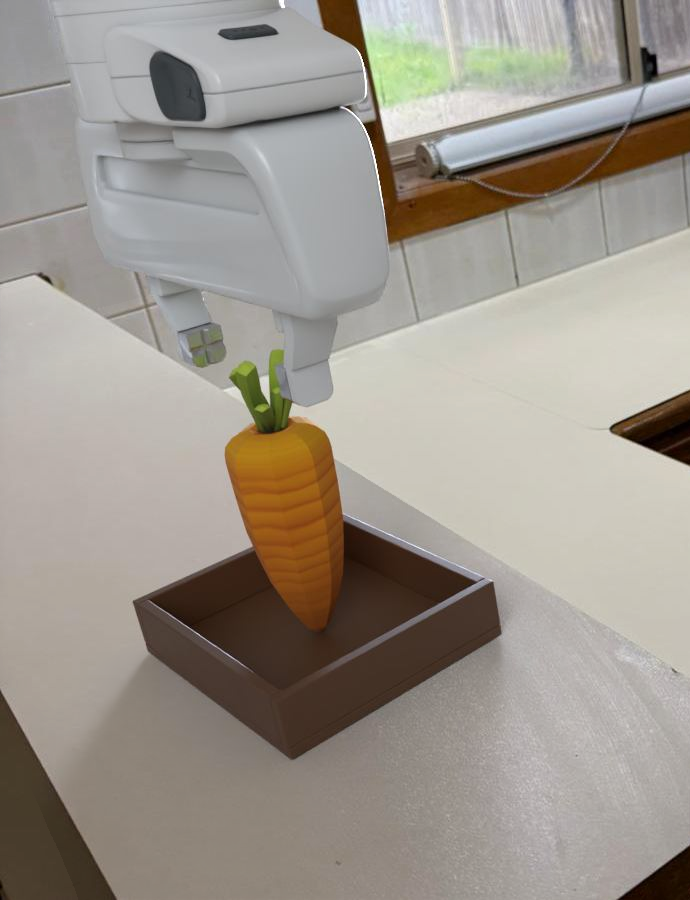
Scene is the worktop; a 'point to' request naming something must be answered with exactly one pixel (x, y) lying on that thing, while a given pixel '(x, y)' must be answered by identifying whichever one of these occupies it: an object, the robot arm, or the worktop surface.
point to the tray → (319, 636)
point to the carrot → (288, 498)
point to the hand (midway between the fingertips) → (253, 380)
